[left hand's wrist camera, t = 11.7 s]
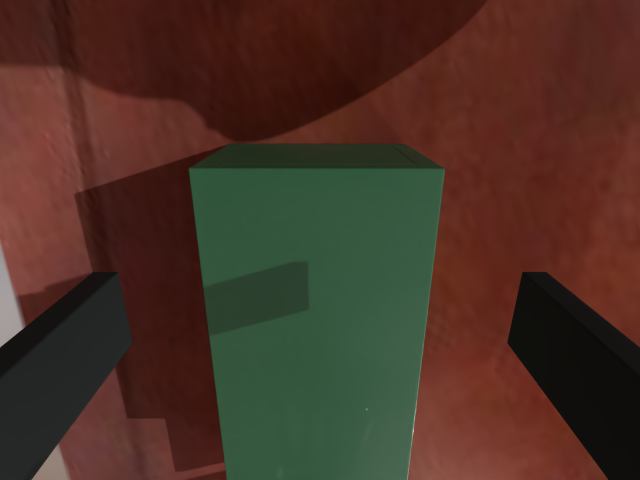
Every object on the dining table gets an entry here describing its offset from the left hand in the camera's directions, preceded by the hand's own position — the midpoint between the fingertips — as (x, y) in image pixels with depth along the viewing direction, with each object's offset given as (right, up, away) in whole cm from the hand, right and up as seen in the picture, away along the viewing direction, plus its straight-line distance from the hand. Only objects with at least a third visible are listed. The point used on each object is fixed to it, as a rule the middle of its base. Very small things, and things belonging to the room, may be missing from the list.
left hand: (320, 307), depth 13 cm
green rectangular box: (0, -1, +16) cm, 16 cm away
